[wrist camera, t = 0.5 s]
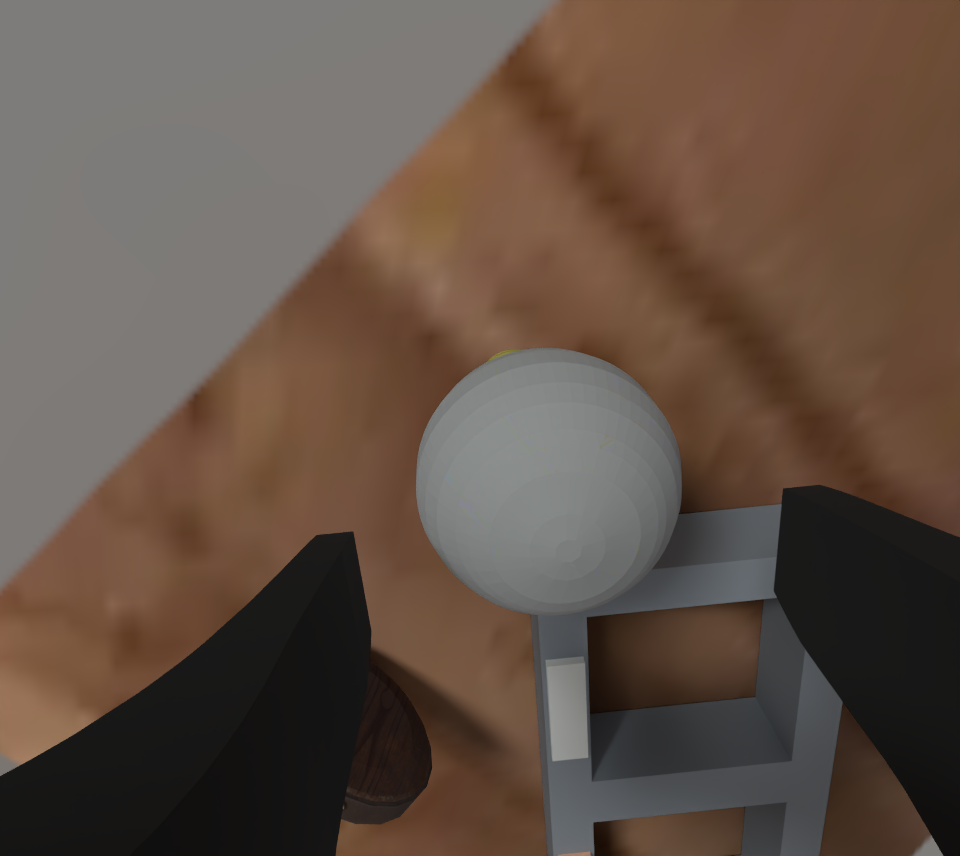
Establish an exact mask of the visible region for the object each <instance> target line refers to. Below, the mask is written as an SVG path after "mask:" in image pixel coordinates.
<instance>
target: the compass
mask: <svg viewBox="0 0 960 856" xmlns="http://www.w3.org/2000/svg"><path fill="white" fill-rule="evenodd" d="M431 770H432V759H431V746H430V743H429V740H428V737H427V734H426V731H425V728H424V725H423V723H422V721H421V719H420V717H419V715H418V714H417V712H416V710H415V708H414V706H413V705H412V703H411V701H410V700H409V699H408V697H407V696H406V695H405V694H404V692H403V691H402V690H401V689H400V687H399V686H398V685H397V684H396V683H395V682H394V681H393V680H392V679H391V678H390V677H389V676H388V675H387V674H386V673H385V672H384V671H383V670H381V669H380V668H379V667H378V666H377V665H375V664H374V663H372V662H371V661H370V662H369V675H368V687H367V692H366V697H365V703H364V708H363V713H362V718H361V723H360V728H359V733H358V738H357V742H356V747H355V752H354V757H353V762H352V767H351V772H350V777H349V781H348V786H347V791H346V796H345V801H344V806H343V811H342V816H341V819H343V820H346V821H349V822H352V823H355V824H382V823H385V822H388V821H390V820H393V819H395V818H398V817H400V816H401V815H402V814H403V813H404V811H405V810H406V809H407V808H408V807H409V806H410V805H411V804H412V803H413V801H414V800H415V799H416V798H417V797H418V796H419V795H420V793H421V792H422V791H423V790H424V789H425V788H426V787H427V784H428V780H429V777H430V773H431Z"/></svg>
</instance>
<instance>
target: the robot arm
mask: <svg viewBox="0 0 960 856" xmlns="http://www.w3.org/2000/svg"><path fill="white" fill-rule="evenodd" d="M774 593H775V595H776V597H777V599H778V601H779V603H780V605H781V607H782V609H783V611H784V613H785V615H786V617H787V619H788V621H789V622H790V624H791V626H792V628H793V630H794V632H795V633H796V635H797V637H798V639H799V641H800V642H801V644H802V645H803V647H804V648H805V650H806V651H807V653H808V654H809V655H810V657H811V658H812V660H813V661H814V662H815V664H816V665H817V667H818V668H819V669H820V671H821V672H822V674H823V675H824V677H825V678H826V679H827V681H828V682H829V684H830V685H831V686H832V688H833V689H834V690H835V692H836V693H837V695H838V696H839V697H840V699H841V700H842V701H843V703H844V704H845V706H846V707H847V708H848V710H849V711H850V712H851V714H852V715H853V717H854V718H855V719H856V721H857V722H858V723H859V725H860V726H861V728H862V729H863V730H864V732H865V733H866V734H867V736H868V737H869V739H870V740H871V741H872V743H873V744H874V745H875V747H876V748H877V750H878V751H879V752H880V754H881V755H882V756H883V758H884V759H885V761H886V762H887V764H888V765H889V767H890V768H891V770H892V771H893V773H894V774H895V776H896V777H897V779H898V780H899V782H900V783H901V785H902V786H903V788H904V789H905V791H906V793H907V794H908V796H909V798H910V799H911V801H912V803H913V804H914V806H915V808H916V810H917V811H918V813H919V815H920V816H921V818H922V820H923V822H924V823H925V825H926V827H927V828H928V830H929V832H930V833H931V835H932V837H933V839H934V840H935V842H936V844H937V845H938V847H939V849H940V851H941V852H942V854H943V856H960V537H957V536H954V535H952V534H949V533H947V532H944V531H941V530H939V529H936V528H934V527H931V526H929V525H926V524H924V523H921V522H919V521H916V520H914V519H911V518H909V517H906V516H904V515H901V514H899V513H896V512H894V511H891V510H889V509H886V508H884V507H881V506H879V505H876V504H874V503H871V502H868V501H866V500H863V499H861V498H858V497H855V496H853V495H850V494H847V493H844V492H841V491H838V490H835V489H832V488H829V487H825V486H822V485H814V486H804V487H794V488H784V489H783V495H782V506H781V517H780V527H779V538H778V549H777V559H776V570H775V580H774ZM370 647H371V627H370V621H369V616H368V610H367V605H366V599H365V594H364V588H363V583H362V577H361V572H360V566H359V561H358V555H357V550H356V544H355V539H354V533H353V532H343V533H333V534H323V535H316V536H315V537H314V538H313V539H312V540H311V541H310V542H309V543H308V544H307V545H306V546H305V547H304V548H303V549H302V550H301V551H300V552H299V553H298V554H297V555H296V556H295V557H294V558H293V559H292V560H291V561H290V562H289V563H288V564H287V565H286V566H285V567H284V568H283V569H282V570H281V572H280V573H279V574H278V575H277V576H276V577H275V578H274V579H273V580H271V581H270V582H269V583H268V584H267V585H266V586H265V587H264V588H263V589H262V590H261V591H260V592H259V593H258V594H257V595H256V596H255V597H254V598H253V599H252V600H251V601H250V602H249V603H248V604H247V605H246V606H245V607H244V608H243V609H242V610H240V611H239V612H238V613H237V614H236V615H235V616H234V617H233V618H232V619H230V620H229V621H228V622H227V623H226V624H225V625H224V626H223V627H222V628H220V629H219V630H218V631H217V632H216V633H215V634H214V635H213V636H211V637H210V638H209V639H208V640H207V641H206V642H205V643H203V644H202V645H201V646H200V647H199V648H197V649H196V650H195V651H194V652H193V653H191V654H190V655H189V656H187V657H186V658H185V659H184V660H182V661H181V662H180V663H179V664H177V665H176V666H175V667H173V668H172V669H171V670H169V671H168V672H167V673H165V674H164V675H163V676H161V677H160V678H159V679H157V680H156V681H154V682H153V683H152V684H150V685H149V686H148V687H146V688H145V689H143V690H142V691H141V692H139V693H138V694H136V695H135V696H133V697H132V698H130V699H128V700H127V701H125V702H124V703H122V704H121V705H119V706H118V707H116V708H115V709H113V710H111V711H110V712H108V713H107V714H105V715H104V716H102V717H101V718H99V719H98V720H96V721H94V722H93V723H91V724H90V725H88V726H87V727H85V728H84V729H82V730H81V731H79V732H77V733H76V734H74V735H73V736H71V737H69V738H68V739H66V740H64V741H62V742H61V743H59V744H57V745H55V746H54V747H52V748H50V749H49V750H47V751H45V752H43V753H42V754H40V755H38V756H36V757H35V758H33V759H31V760H29V761H27V762H26V763H24V764H22V765H20V766H18V767H16V768H15V769H13V770H11V771H9V772H7V773H5V774H3V775H2V776H0V856H335V855H336V846H337V840H338V834H339V828H340V822H341V816H342V811H343V806H344V801H345V796H346V791H347V786H348V781H349V777H350V772H351V767H352V762H353V757H354V752H355V747H356V742H357V738H358V733H359V728H360V723H361V718H362V713H363V708H364V703H365V697H366V692H367V687H368V675H369V662H370Z"/></svg>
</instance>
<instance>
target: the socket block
mask: <svg viewBox="0 0 960 856" xmlns="http://www.w3.org/2000/svg"><path fill="white" fill-rule="evenodd" d="M781 506H782V504H777V505H767V506H757V507H747V508H737V509H727V510H717V511H707V512H697V513H687V514H679V515H678V519H677V522H676V525H675V527H674V530H673V533H672V535H671V538H670V541H669V543H668V545H667V547H666V549H665V551H664V552H663V554H662V556H661V557H660V559H659V560H658V562H657V563H656V564H655V566H654V567H653V568H652V569H651V570H650V572H649V573H648V574H647V575H646V576H645V577H644V578H643V579H642V580H641V581H640V582H638V583H637V584H636V585H635V586H633V587H632V588H631V589H630V590H628V591H627V592H625V593H624V594H622V595H621V596H619V597H617V598H615V599H613V600H612V601H610V602H608V603H605V604H603V605H601V606H598V607H595V608H592V609H589V610H586V611H582V612H578V613H572V614H567V615H555V616H543V615H532V614H531V627H532V641H533V655H534V670H535V684H536V698H537V713H538V727H539V741H540V755H541V770H542V784H543V798H544V813H545V827H546V841H547V855H548V856H594V830H593V822H602V821H611V820H621V819H631V818H640V817H650V816H659V815H669V814H678V813H688V812H697V811H707V810H716V809H726V808H736V807H745V816H744V827H743V838H742V850H741V855H736V856H819V854H820V848H821V841H822V835H823V828H824V821H825V815H826V808H827V802H828V795H829V789H830V782H831V776H832V769H833V762H834V756H835V749H836V743H837V736H838V730H839V723H840V717H841V710H842V704H843V701H842V700H841V699H840V697H839V696H838V695H837V693H836V692H835V690H834V689H833V688H832V686H831V685H830V684H829V682H828V681H827V679H826V678H825V677H824V675H823V674H822V672H821V671H820V669H819V668H818V667H817V665H816V664H815V662H814V661H813V660H812V658H811V657H810V655H809V654H808V653H807V651H806V650H805V648H804V647H803V645H802V644H801V642H800V641H799V639H798V637H797V635H796V633H795V632H794V630H793V628H792V626H791V624H790V622H789V621H788V619H787V617H786V615H785V613H784V611H783V609H782V607H781V605H780V603H779V601H778V599H777V597H776V595H775V593H774V580H775V570H776V559H777V549H778V538H779V527H780V517H781ZM761 599H764V601H763V612H762V624H761V635H760V646H759V657H758V669H757V680H756V691H755V697H750V698H740V699H731V700H721V701H711V702H702V703H692V704H682V705H672V706H663V707H653V708H643V709H633V710H624V711H614V712H604V713H595V714H590V704H589V672H588V641H587V617H593V616H603V615H613V614H622V613H632V612H642V611H652V610H662V609H672V608H682V607H692V606H702V605H711V604H721V603H731V602H741V601H751V600H761Z"/></svg>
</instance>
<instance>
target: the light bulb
mask: <svg viewBox="0 0 960 856" xmlns="http://www.w3.org/2000/svg"><path fill="white" fill-rule="evenodd" d="M416 496H417V504H418V510H419V515H420V519H421V522H422V524H423V527H424V530H425V532H426V534H427V536H428V538H429V540H430V542H431V543H432V545H433V547H434V548H435V550H436V551H437V553H438V554H439V556H440V558H441V559H442V561H443V562H444V563H445V565H446V566H447V567H448V568H449V570H450V571H451V572H452V573H453V574H454V575H455V576H456V577H457V578H458V579H459V580H460V581H461V582H463V583H464V584H465V585H466V586H467V587H469V588H470V589H472V590H473V591H474V592H476V593H477V594H479V595H480V596H482V597H483V598H485V599H487V600H488V601H490V602H492V603H494V604H496V605H499V606H501V607H503V608H506V609H509V610H512V611H516V612H520V613H525V614H532V615H543V616H555V615H567V614H572V613H578V612H582V611H586V610H589V609H592V608H595V607H598V606H601V605H603V604H605V603H608V602H610V601H612V600H613V599H615V598H617V597H619V596H621V595H622V594H624V593H625V592H627V591H628V590H630V589H631V588H632V587H633V586H635V585H636V584H637V583H638V582H640V581H641V580H642V579H643V578H644V577H645V576H646V575H647V574H648V573H649V572H650V570H651V569H652V568H653V567H654V566H655V564H656V563H657V562H658V560H659V559H660V557H661V556H662V554H663V552H664V551H665V549H666V547H667V545H668V543H669V541H670V538H671V535H672V533H673V530H674V527H675V525H676V522H677V519H678V515H679V511H680V505H681V498H682V470H681V459H680V454H679V449H678V445H677V442H676V439H675V436H674V434H673V432H672V429H671V427H670V425H669V423H668V422H667V420H666V418H665V417H664V415H663V414H662V412H661V411H660V410H659V408H658V407H657V406H656V404H655V403H654V401H653V400H652V399H651V397H650V396H649V395H648V393H647V392H646V391H645V390H644V389H643V388H642V387H641V386H640V385H639V384H638V383H637V382H636V381H635V380H634V379H633V378H632V377H630V376H629V375H628V374H626V373H625V372H623V371H622V370H621V369H619V368H617V367H615V366H614V365H612V364H610V363H608V362H606V361H603V360H601V359H599V358H596V357H593V356H590V355H586V354H583V353H579V352H575V351H571V350H566V349H557V348H534V349H526V350H518V349H512V350H506V351H502V352H500V353H498V354H496V355H494V356H493V357H492V358H490V359H489V360H488V361H487V363H485V364H483V365H481V366H480V367H478V368H476V369H475V370H473V371H472V372H471V373H469V374H468V375H467V376H466V377H464V378H463V379H462V380H461V381H460V382H459V383H458V384H457V385H456V386H455V387H454V388H453V389H452V390H451V391H450V393H449V394H448V395H447V396H446V397H445V399H444V400H443V401H442V402H441V404H440V405H439V406H438V408H437V409H436V411H435V412H434V414H433V416H432V417H431V419H430V421H429V423H428V425H427V427H426V430H425V432H424V434H423V437H422V441H421V444H420V448H419V453H418V459H417V477H416Z"/></svg>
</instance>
